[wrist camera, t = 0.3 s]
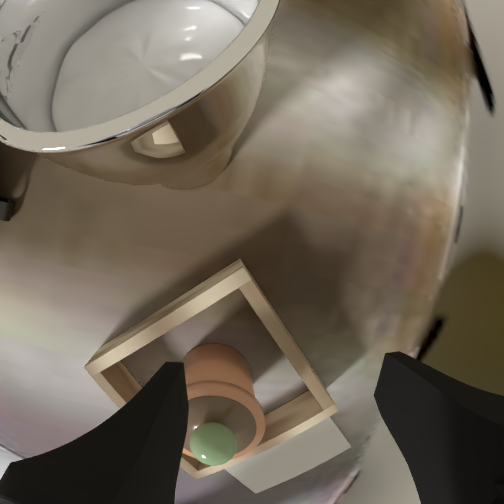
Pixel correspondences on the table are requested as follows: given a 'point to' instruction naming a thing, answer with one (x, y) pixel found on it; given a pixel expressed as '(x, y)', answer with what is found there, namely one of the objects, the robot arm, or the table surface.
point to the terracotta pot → (220, 405)
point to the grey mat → (291, 457)
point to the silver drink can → (133, 84)
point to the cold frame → (189, 304)
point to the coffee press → (6, 208)
